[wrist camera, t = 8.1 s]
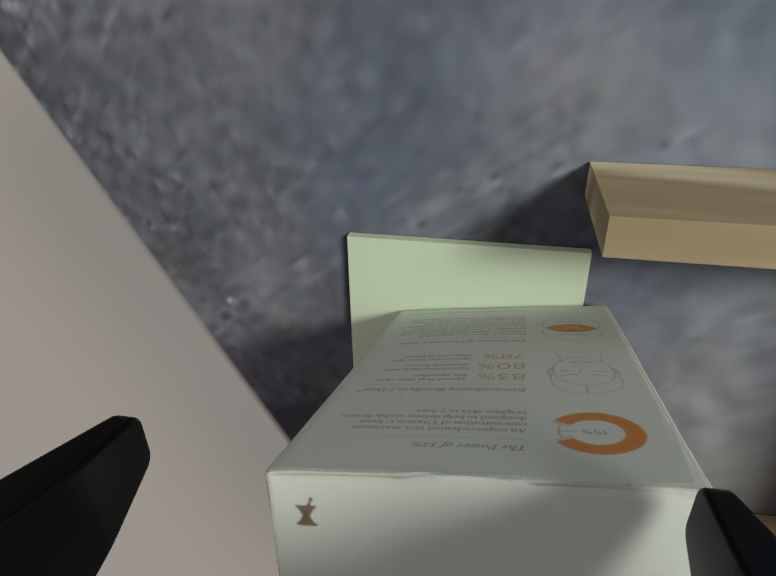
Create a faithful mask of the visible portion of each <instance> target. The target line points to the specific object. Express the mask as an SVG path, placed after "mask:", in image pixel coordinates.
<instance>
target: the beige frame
mask: <svg viewBox="0 0 776 576" xmlns="http://www.w3.org/2000/svg"><path fill="white" fill-rule="evenodd" d="M585 198H586V202H587V205H588V209H589V212H590V216H591V219H592V223H593V226H594V230H595V233H596V237H597V240H598V244H599V247H600V251H601V254H602V257H609V258H624V259H638V260H652V261H666V262H681V263H695V264H709V265H723V266H738V267H752V268H766V269H776V170H771V169H748V168H725V167H703V166H680V165H657V164H634V163H611V162H590V165H589V171H588V178H587V184H586V190H585ZM755 515H756V516H757V517H758V518H759V519H760V520H761V521H762V522H763V523H764V524H765V525H766V526H767V527H768V528H769V529H770V530H771V531H772V532H773V534H774V535H775V536H776V517H775V516H768V515H761V514H755Z"/></svg>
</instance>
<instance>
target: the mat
mask: <svg viewBox="0 0 776 576" xmlns="http://www.w3.org/2000/svg"><path fill="white" fill-rule="evenodd" d="M347 243H348V264H349V285H350V306H351V327H352V348H353V368H354V366H355V365H356V364H357V363H358V362H359V361H360V359H361V358H362V357H363V356H364V355H365V353H366V352H367V351H368V350H369V349H370V347H371V346H372V345H373V344H374V343H375V342H376V340H377V339H378V338H379V337H380V336H381V334H382V333H383V332H384V331H385V330H386V329H387V327H388V326H389V325H390V324H391V323H392V321H393V320H394V319H395V318H396V317H397V316H398V314H399V313H400V312H401V311H417V310H443V309H481V308H516V307H567V306H583V303H584V297H585V291H586V285H587V279H588V274H589V268H590V262H591V256H592V252H591V249H587V248H572V247H557V246H543V245H528V244H513V243H499V242H484V241H469V240H455V239H440V238H425V237H411V236H396V235H381V234H367V233H352V232H350V233H349V234H348V236H347Z"/></svg>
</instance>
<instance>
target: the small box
mask: <svg viewBox="0 0 776 576" xmlns="http://www.w3.org/2000/svg"><path fill="white" fill-rule="evenodd" d="M265 477H266V483H267V488H268V494H269V501H270V507H271V514H272V521H273V530H274V538H275V547H276V555H277V563H278V570H279V576H691V573H690V566H689V560H688V553H687V546H686V539H685V529H686V523H687V520H688V517H689V514H690V511H691V508H692V506H693V503H694V500H695V497H696V494H697V492H698V491H699V489H701V488H704V487H706V488H712V486H711V484H710V483H709V481H708V480H707V478H706V476H705V475H704V473H703V472H702V470H701V468H700V467H699V465H698V463H697V462H696V460H695V458H694V456H693V454H692V452H691V451H690V449H689V448H688V446H687V445H686V443H685V441H684V440H683V438H682V436H681V434H680V433H679V431H678V429H677V427H676V425H675V424H674V422H673V420H672V418H671V416H670V415H669V413H668V411H667V409H666V408H665V406H664V404H663V402H662V400H661V399H660V397H659V395H658V393H657V392H656V390H655V388H654V387H653V385H652V383H651V382H650V380H649V378H648V376H647V375H646V373H645V371H644V370H643V368H642V366H641V364H640V362H639V360H638V359H637V357H636V355H635V353H634V351H633V349H632V348H631V346H630V344H629V342H628V340H627V339H626V337H625V335H624V334H623V332H622V330H621V329H620V327H619V325H618V323H617V322H616V320H615V318H614V317H613V315H612V313H611V312H610V310H609V309H608V308H607V307H606V306H567V307H516V308H481V309H443V310H417V311H401V312H400V313H399V314H398V316H397V317H396V318H395V319H394V320H393V321H392V323H391V324H390V325H389V326H388V327H387V329H386V330H385V331H384V332H383V333H382V334H381V336H380V337H379V338H378V339H377V340H376V342H375V343H374V344H373V345H372V346H371V347H370V349H369V350H368V351H367V352H366V353H365V355H364V356H363V357H362V358H361V359H360V361H359V362H358V363H357V364H356V365H355V366H354V368H353V369H352V370H351V371H350V372H349V373H348V375H347V376H346V377H345V378H344V379H343V381H342V382H341V383H340V384H339V385H338V387H337V388H336V389H335V390H334V391H333V392H332V394H331V395H330V396H329V397H328V398H327V399H326V401H325V402H324V403H323V404H322V405H321V407H320V408H319V409H318V410H317V411H316V412H315V414H314V415H313V416H312V417H311V418H310V419H309V421H308V422H307V423H306V424H305V425H304V427H303V428H302V429H301V430H300V431H299V432H298V434H297V435H296V436H295V437H294V438H293V440H292V441H291V442H290V443H289V444H288V446H287V447H286V448H285V450H284V451H283V452H282V453H281V454H280V455H279V456H278V457H277V458H276V459H275V461H274V462H273V463H272V464H271V465H270V466H269V468H268V469H267V470H266V472H265Z"/></svg>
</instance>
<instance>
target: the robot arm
mask: <svg viewBox="0 0 776 576" xmlns="http://www.w3.org/2000/svg"><path fill="white" fill-rule="evenodd" d="M149 461H150V450H149V447H148V443H147V440H146V437H145V434H144V430H143V427H142V424H141V422H140V421H139V420H138V419H137V418H135V417H127V416H119V415H118V416H113V417H111V418H109V419H107V420H105V421H103V422H101V423H100V424H98V425H96V426H94V427H93V428H91V429H89V430H87V431H86V432H84V433H82V434H80V435H78V436H77V437H75V438H73V439H71V440H70V441H68V442H66V443H64V444H62V445H61V446H59V447H57V448H55V449H54V450H52V451H50V452H48V453H47V454H45V455H43V456H41V457H39V458H38V459H36V460H34V461H32V462H30V463H29V464H27V465H25V466H23V467H22V468H20V469H18V470H16V471H14V472H13V473H11V474H9V475H7V476H6V477H4V478H2V479H1V480H0V576H96V575H97V573H98V571H99V569H100V568H101V566H102V564H103V562H104V561H105V559H106V557H107V555H108V553H109V551H110V549H111V547H112V545H113V543H114V541H115V539H116V537H117V535H118V533H119V531H120V528H121V526H122V524H123V522H124V519H125V517H126V515H127V512H128V510H129V508H130V506H131V504H132V501H133V499H134V497H135V495H136V492H137V490H138V488H139V486H140V483H141V481H142V479H143V476H144V474H145V472H146V470H147V468H148V465H149ZM685 539H686V546H687V553H688V560H689V566H690V573H691V576H776V536H775V535H774V534H773V532H772V531H771V530H770V529H769V528H768V527H767V526H766V525H765V524H764V523H763V522H762V521H761V520H760V519H759V518H758V517H757V516H756V515H755V514H754V513H753V512H752V511H751V510H750V509H749V508H748V507H747V506H746V505H745V504H744V503H743V502H742V501H741V500H740V499H739V498H738V497H737V496H736V495H735V494H734V493H732V492H731V491H728V490H723V489H714V488H706V487H704V488H701V489H699V491H698V492H697V494H696V497H695V500H694V503H693V506H692V508H691V511H690V514H689V517H688V520H687V523H686V529H685Z"/></svg>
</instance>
